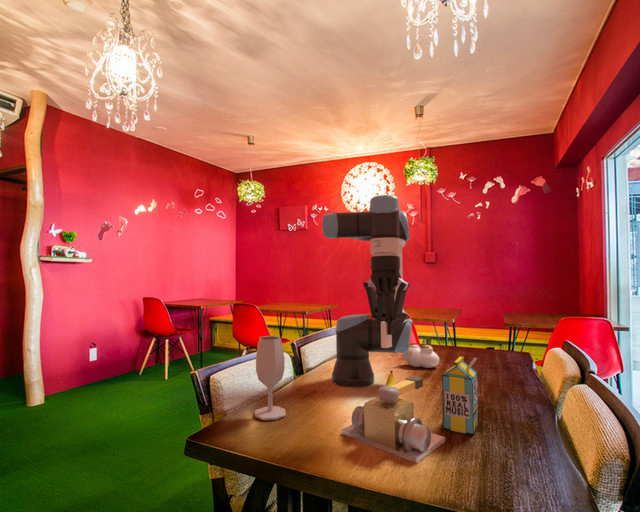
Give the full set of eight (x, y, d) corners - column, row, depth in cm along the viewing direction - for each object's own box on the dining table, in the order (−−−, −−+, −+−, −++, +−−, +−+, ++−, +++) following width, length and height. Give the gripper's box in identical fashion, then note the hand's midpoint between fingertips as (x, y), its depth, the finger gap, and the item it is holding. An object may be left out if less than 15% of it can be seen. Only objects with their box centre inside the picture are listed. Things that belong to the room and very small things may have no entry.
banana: (378, 410, 104) (378, 387, 104) (387, 389, 122) (387, 370, 122) (389, 411, 103) (388, 388, 103) (396, 390, 121) (396, 370, 121)
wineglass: (259, 424, 95) (259, 341, 96) (250, 412, 103) (250, 336, 104) (291, 417, 99) (290, 338, 100) (279, 407, 107) (279, 334, 108)
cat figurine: (440, 344, 150) (403, 338, 154) (440, 358, 143) (401, 351, 147) (438, 361, 154) (402, 355, 159) (438, 375, 148) (399, 368, 152)
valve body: (341, 434, 89) (340, 393, 89) (372, 418, 98) (372, 381, 98) (416, 463, 75) (415, 414, 75) (445, 441, 84) (444, 398, 85)
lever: (391, 402, 81) (391, 393, 81) (375, 398, 84) (375, 389, 84) (425, 386, 92) (424, 378, 92) (409, 383, 95) (409, 375, 95)
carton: (477, 437, 86) (475, 359, 87) (443, 430, 90) (441, 355, 91) (482, 426, 92) (480, 353, 93) (450, 419, 97) (448, 350, 97)
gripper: (356, 256, 98) (357, 346, 96) (399, 253, 89) (401, 352, 87) (372, 256, 103) (374, 342, 102) (414, 254, 94) (416, 348, 93)
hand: (386, 347), depth 95 cm, fingers closed
